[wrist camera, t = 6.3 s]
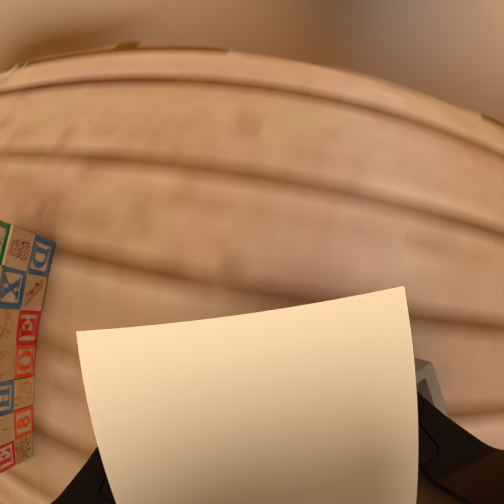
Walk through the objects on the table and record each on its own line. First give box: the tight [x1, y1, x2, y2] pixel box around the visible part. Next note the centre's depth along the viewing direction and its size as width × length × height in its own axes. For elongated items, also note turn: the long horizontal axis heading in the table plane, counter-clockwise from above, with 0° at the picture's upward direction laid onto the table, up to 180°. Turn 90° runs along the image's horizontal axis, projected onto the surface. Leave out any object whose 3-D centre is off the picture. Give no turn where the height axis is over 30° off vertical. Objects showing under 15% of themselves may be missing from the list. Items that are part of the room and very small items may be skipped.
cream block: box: [76, 286, 418, 504], centre depth 10 cm, size 5×5×12 cm
